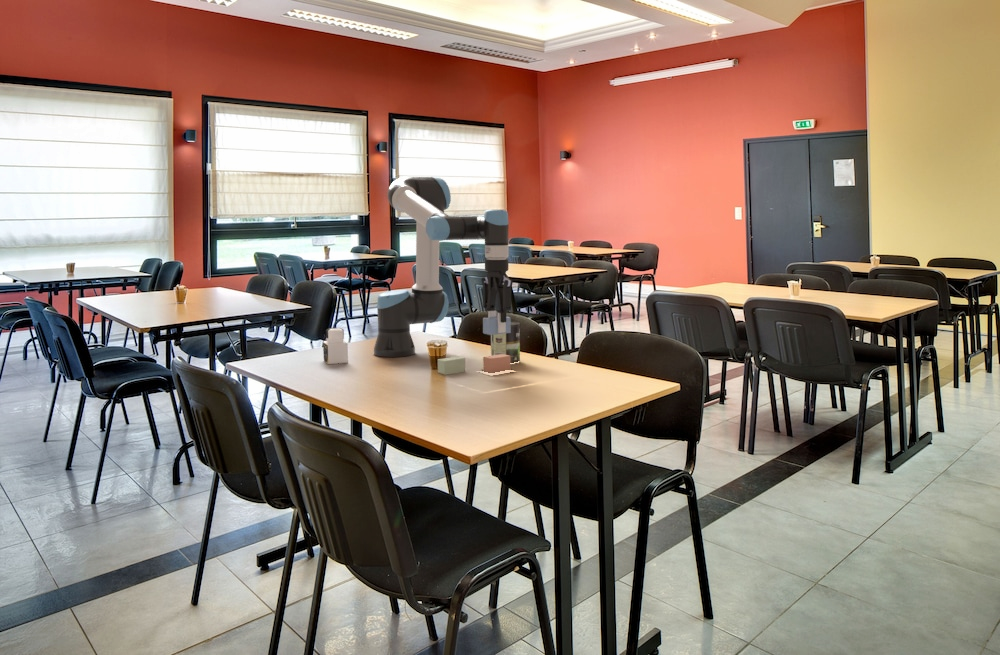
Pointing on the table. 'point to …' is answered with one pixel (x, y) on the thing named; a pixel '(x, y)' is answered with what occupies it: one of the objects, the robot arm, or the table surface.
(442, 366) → the green brick
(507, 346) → the coffee can
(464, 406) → the table surface
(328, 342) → the medicine bottle
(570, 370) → the table surface
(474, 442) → the table surface
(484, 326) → the blue brick
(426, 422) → the table surface
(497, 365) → the terracotta brick
